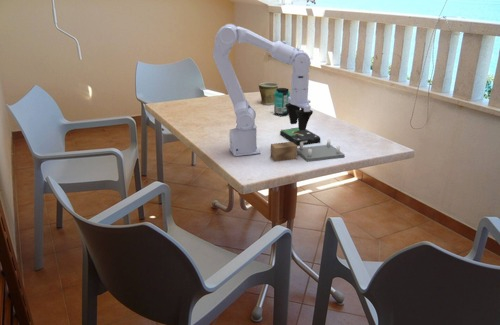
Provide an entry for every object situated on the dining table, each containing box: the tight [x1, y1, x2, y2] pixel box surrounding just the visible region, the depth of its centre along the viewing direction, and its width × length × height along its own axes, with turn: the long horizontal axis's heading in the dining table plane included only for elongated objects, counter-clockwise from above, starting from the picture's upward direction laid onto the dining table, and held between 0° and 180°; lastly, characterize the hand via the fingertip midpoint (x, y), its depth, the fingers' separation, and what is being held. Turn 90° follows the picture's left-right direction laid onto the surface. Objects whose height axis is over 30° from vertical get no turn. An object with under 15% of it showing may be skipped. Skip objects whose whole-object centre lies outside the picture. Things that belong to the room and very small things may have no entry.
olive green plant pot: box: [258, 82, 279, 106], centre depth 215 cm, size 13×10×10 cm
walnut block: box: [270, 141, 298, 162], centre depth 142 cm, size 8×4×5 cm, turn 107°
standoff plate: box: [297, 139, 346, 162], centre depth 146 cm, size 14×11×4 cm
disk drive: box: [279, 127, 321, 147], centre depth 162 cm, size 10×3×15 cm
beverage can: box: [273, 87, 291, 117], centre depth 194 cm, size 7×7×12 cm
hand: (297, 126), depth 145 cm, fingers open, 7 cm apart
